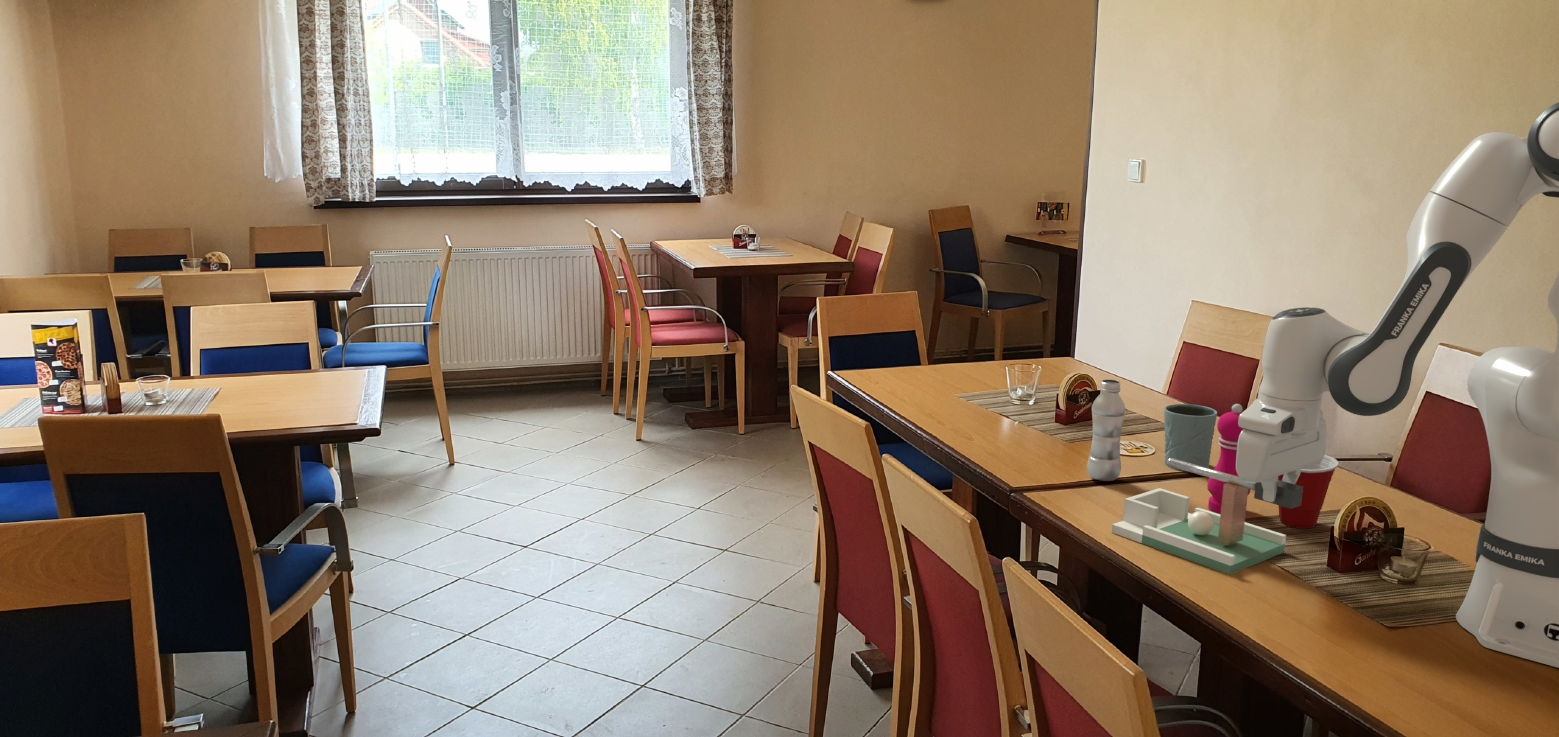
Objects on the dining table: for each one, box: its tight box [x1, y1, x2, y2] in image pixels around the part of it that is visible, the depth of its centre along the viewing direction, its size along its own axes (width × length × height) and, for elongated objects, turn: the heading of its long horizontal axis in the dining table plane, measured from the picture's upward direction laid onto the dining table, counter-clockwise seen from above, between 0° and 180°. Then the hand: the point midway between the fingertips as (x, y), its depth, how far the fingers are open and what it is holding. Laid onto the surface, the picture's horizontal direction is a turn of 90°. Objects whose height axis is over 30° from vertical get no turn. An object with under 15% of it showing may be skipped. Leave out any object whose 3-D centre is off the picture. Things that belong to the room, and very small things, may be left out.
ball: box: [1188, 511, 1213, 535], centre depth 179 cm, size 4×4×4 cm
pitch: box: [1111, 487, 1287, 576], centre depth 179 cm, size 22×16×6 cm
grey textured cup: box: [1163, 403, 1218, 473], centre depth 220 cm, size 10×10×12 cm
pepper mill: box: [1206, 403, 1251, 515], centre depth 193 cm, size 7×7×20 cm
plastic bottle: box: [1086, 379, 1126, 482], centre depth 210 cm, size 6×7×20 cm
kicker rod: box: [1167, 458, 1303, 545], centre depth 174 cm, size 23×4×12 cm, turn 37°
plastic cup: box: [1278, 454, 1339, 529], centre depth 188 cm, size 11×11×12 cm
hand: (1277, 497), depth 167 cm, fingers closed on kicker rod, 3 cm apart
